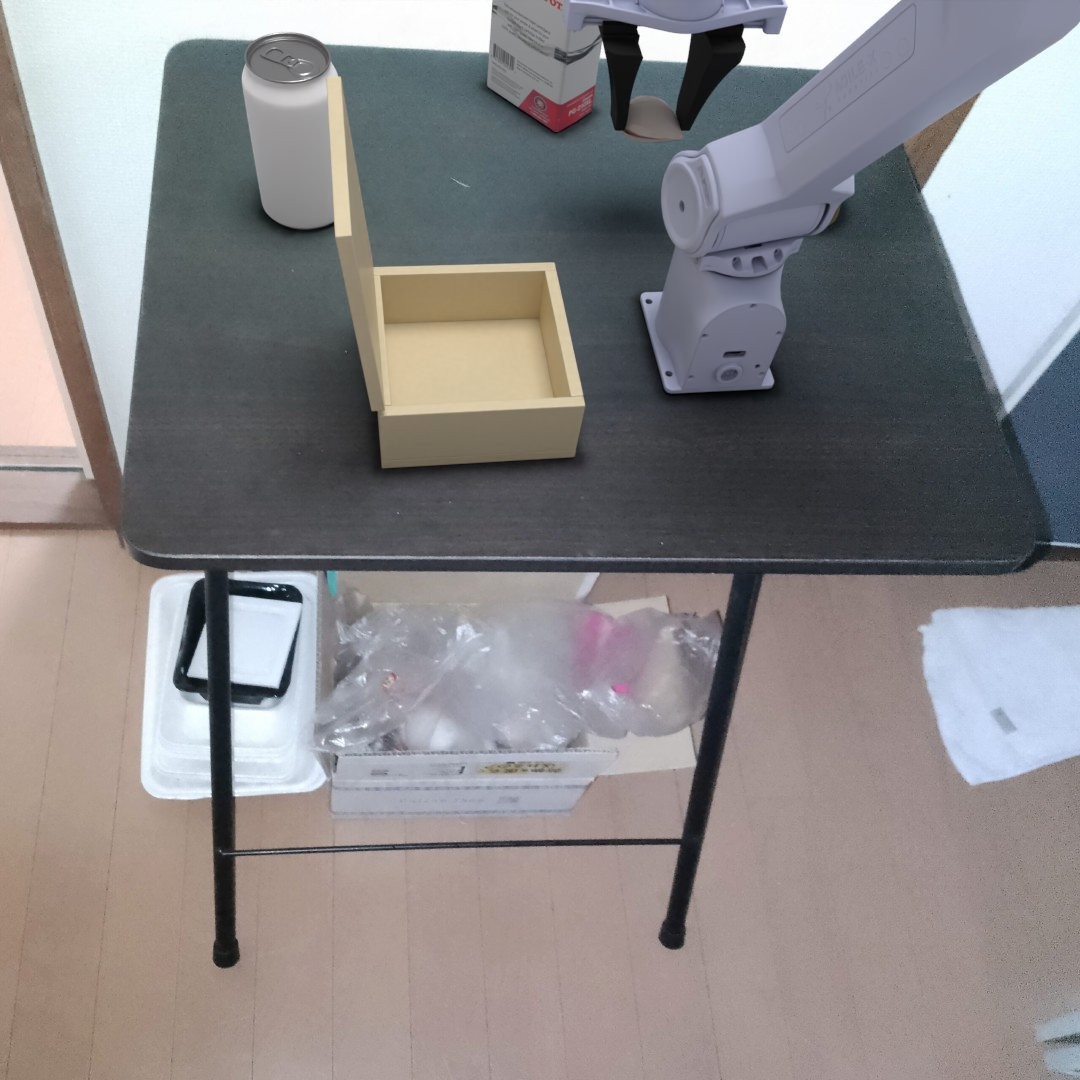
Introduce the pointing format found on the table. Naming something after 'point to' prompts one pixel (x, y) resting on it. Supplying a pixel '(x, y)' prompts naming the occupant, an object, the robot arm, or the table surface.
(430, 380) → the beige box
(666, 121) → the clam shell
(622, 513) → the table surface
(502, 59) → the ink box
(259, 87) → the can
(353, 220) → the box lid
